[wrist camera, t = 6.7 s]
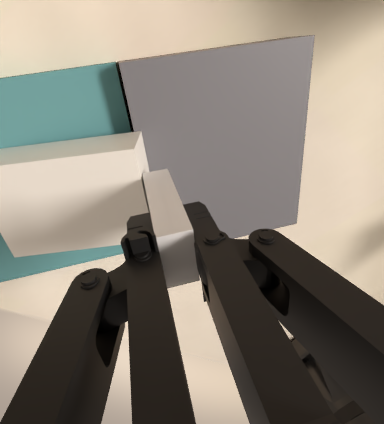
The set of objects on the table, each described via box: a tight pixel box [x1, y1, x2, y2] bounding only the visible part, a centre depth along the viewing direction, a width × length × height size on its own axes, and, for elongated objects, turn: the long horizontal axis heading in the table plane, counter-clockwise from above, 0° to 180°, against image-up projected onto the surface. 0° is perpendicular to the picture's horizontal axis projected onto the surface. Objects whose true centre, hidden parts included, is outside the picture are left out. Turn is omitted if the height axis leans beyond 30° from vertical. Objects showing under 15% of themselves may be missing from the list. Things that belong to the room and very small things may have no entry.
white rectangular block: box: [0, 131, 150, 257], centre depth 18 cm, size 6×9×4 cm, turn 96°
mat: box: [0, 62, 131, 282], centre depth 20 cm, size 14×13×2 cm
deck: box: [119, 35, 315, 239], centre depth 21 cm, size 14×12×3 cm
